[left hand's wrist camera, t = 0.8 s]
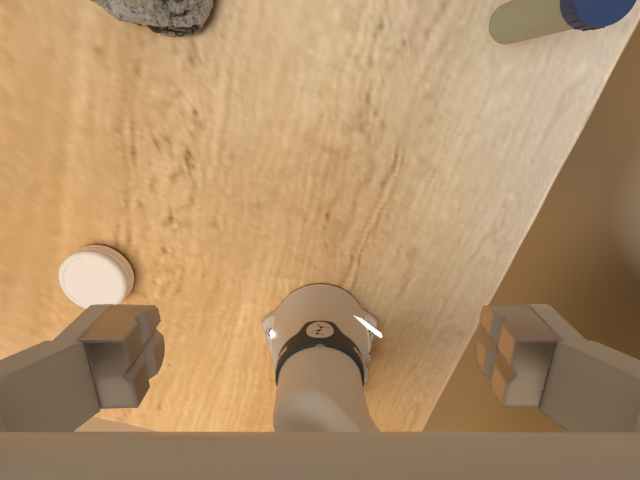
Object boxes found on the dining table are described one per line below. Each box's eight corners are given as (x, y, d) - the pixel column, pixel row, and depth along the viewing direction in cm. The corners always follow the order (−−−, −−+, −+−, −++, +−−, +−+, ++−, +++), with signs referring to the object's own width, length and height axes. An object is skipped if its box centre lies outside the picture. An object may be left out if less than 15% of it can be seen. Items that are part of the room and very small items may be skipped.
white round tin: (57, 262, 62) (42, 272, 59) (105, 232, 60) (93, 240, 57) (100, 311, 65) (89, 322, 62) (148, 283, 63) (139, 294, 60)
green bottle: (503, -5, 49) (602, -54, 32) (533, 15, 50) (645, -23, 33) (481, 32, 51) (564, 4, 33) (510, 50, 51) (606, 33, 34)
